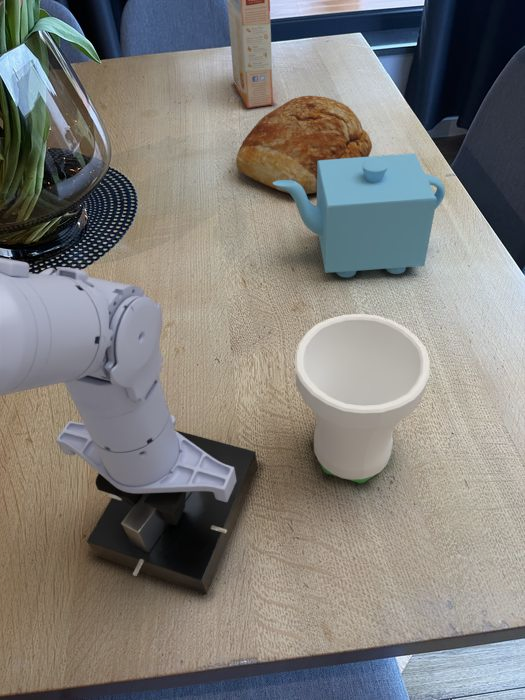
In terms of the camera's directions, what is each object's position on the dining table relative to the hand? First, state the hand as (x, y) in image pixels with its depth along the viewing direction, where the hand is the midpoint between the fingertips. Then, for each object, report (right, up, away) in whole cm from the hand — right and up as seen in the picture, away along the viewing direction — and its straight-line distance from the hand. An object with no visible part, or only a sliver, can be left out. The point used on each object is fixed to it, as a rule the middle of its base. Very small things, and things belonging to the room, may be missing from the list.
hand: (164, 510), depth 49 cm
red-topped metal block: (0, 0, 0) cm, 1 cm away
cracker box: (+7, +68, +69) cm, 98 cm away
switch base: (+1, -1, +4) cm, 4 cm away
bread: (+15, +45, +47) cm, 67 cm away
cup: (+18, +4, +7) cm, 20 cm away
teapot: (+22, +27, +29) cm, 46 cm away
